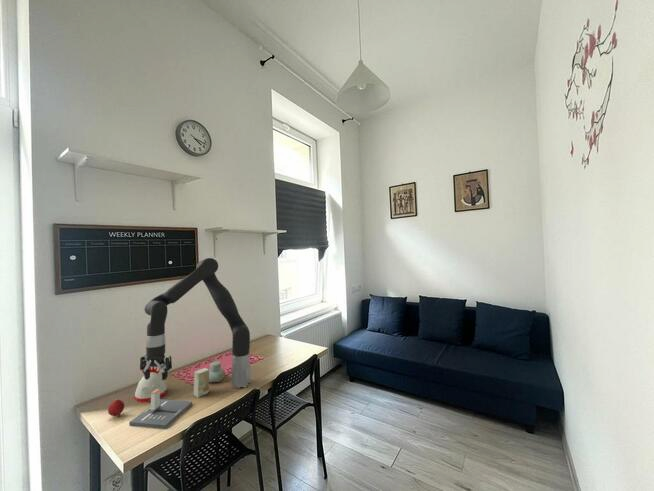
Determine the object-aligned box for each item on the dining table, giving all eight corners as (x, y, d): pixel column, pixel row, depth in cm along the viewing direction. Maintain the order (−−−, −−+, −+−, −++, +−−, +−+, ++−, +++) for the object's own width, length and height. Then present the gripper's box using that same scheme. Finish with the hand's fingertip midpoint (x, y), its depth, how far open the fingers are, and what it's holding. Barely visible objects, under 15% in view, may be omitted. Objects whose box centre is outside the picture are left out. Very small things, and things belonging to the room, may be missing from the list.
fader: (161, 406, 125) (161, 388, 125) (152, 412, 120) (153, 394, 120) (157, 406, 125) (157, 388, 125) (148, 412, 120) (149, 393, 120)
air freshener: (215, 385, 149) (215, 367, 149) (202, 384, 150) (203, 366, 151) (227, 376, 159) (227, 360, 159) (214, 375, 161) (215, 358, 161)
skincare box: (198, 397, 136) (198, 373, 136) (193, 395, 138) (193, 371, 139) (209, 392, 141) (209, 369, 142) (204, 390, 144) (205, 367, 144)
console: (192, 404, 130) (192, 401, 130) (165, 428, 112) (165, 425, 112) (160, 402, 132) (160, 398, 132) (129, 425, 114) (129, 421, 114)
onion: (114, 412, 123) (114, 395, 123) (127, 412, 124) (127, 394, 124) (104, 420, 117) (105, 402, 117) (118, 420, 118) (118, 401, 118)
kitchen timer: (138, 391, 143) (139, 362, 143) (168, 386, 148) (168, 358, 149) (131, 404, 130) (132, 373, 130) (163, 398, 135) (164, 368, 136)
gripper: (175, 341, 126) (175, 376, 125) (148, 340, 128) (148, 374, 127) (164, 347, 118) (164, 383, 118) (135, 346, 120) (135, 382, 120)
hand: (155, 379), depth 123 cm, fingers open, 8 cm apart
